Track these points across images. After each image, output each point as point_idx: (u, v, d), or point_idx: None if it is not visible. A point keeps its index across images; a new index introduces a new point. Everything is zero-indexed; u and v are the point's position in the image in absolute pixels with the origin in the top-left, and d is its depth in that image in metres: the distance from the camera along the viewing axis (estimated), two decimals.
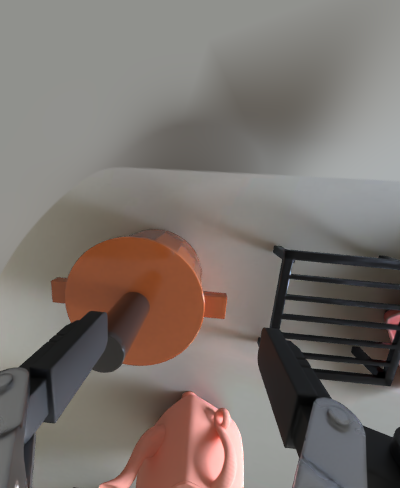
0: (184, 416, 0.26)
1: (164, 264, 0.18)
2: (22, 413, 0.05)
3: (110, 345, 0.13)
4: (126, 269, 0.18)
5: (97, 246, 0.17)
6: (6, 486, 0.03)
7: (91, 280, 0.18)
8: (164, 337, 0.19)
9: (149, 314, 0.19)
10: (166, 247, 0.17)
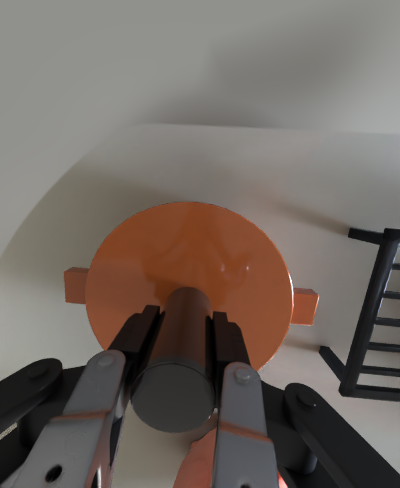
0: None
1: (238, 245, 0.12)
2: (114, 398, 0.05)
3: (191, 384, 0.07)
4: (179, 252, 0.12)
5: (136, 217, 0.11)
6: (86, 474, 0.04)
7: (125, 269, 0.12)
8: None
9: None
10: (242, 218, 0.11)
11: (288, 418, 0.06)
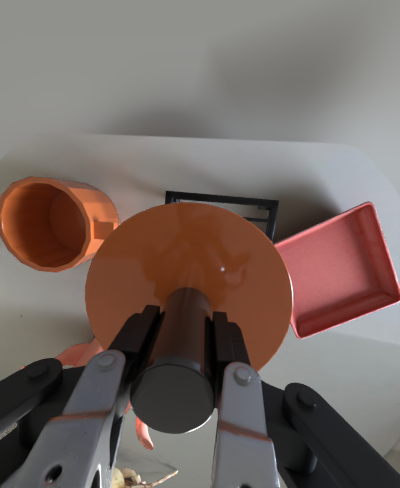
0: None
1: (237, 245, 0.12)
2: (114, 398, 0.05)
3: (191, 385, 0.07)
4: (179, 253, 0.12)
5: (136, 217, 0.11)
6: (86, 474, 0.04)
7: (125, 270, 0.12)
8: None
9: None
10: (242, 218, 0.11)
11: (288, 418, 0.06)
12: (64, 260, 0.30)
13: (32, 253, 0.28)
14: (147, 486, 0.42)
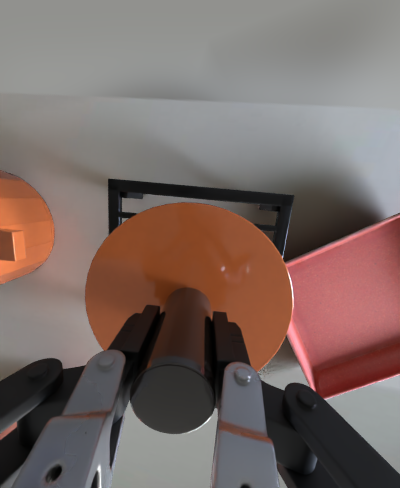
0: None
1: (238, 245, 0.12)
2: (114, 398, 0.05)
3: (191, 386, 0.07)
4: (179, 253, 0.12)
5: (136, 217, 0.11)
6: (86, 474, 0.04)
7: (125, 270, 0.12)
8: None
9: None
10: (242, 218, 0.11)
11: (288, 418, 0.06)
12: None
13: None
14: None
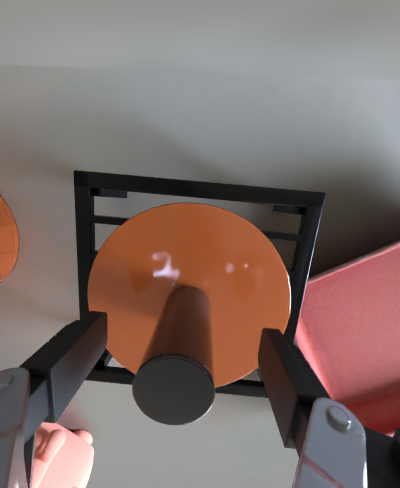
0: None
1: (237, 244, 0.12)
2: (22, 413, 0.05)
3: (191, 378, 0.07)
4: (179, 252, 0.12)
5: (138, 217, 0.12)
6: (6, 486, 0.03)
7: (127, 268, 0.12)
8: (228, 351, 0.13)
9: None
10: (241, 218, 0.12)
11: None
12: None
13: None
14: None
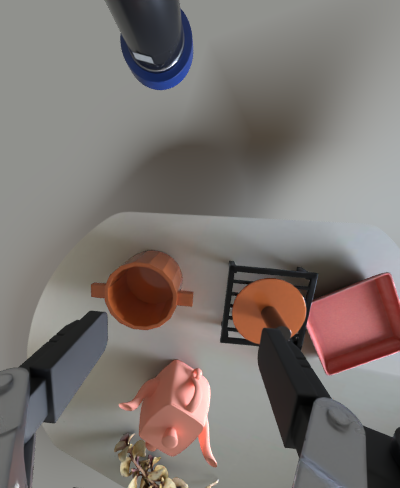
0: (171, 371, 0.40)
1: (288, 292, 0.35)
2: (22, 413, 0.05)
3: (286, 331, 0.30)
4: (267, 294, 0.35)
5: (254, 283, 0.35)
6: (6, 486, 0.03)
7: (248, 300, 0.35)
8: None
9: None
10: (289, 284, 0.35)
11: None
12: (145, 316, 0.38)
13: (124, 313, 0.36)
14: None
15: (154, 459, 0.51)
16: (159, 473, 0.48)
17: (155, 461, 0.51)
